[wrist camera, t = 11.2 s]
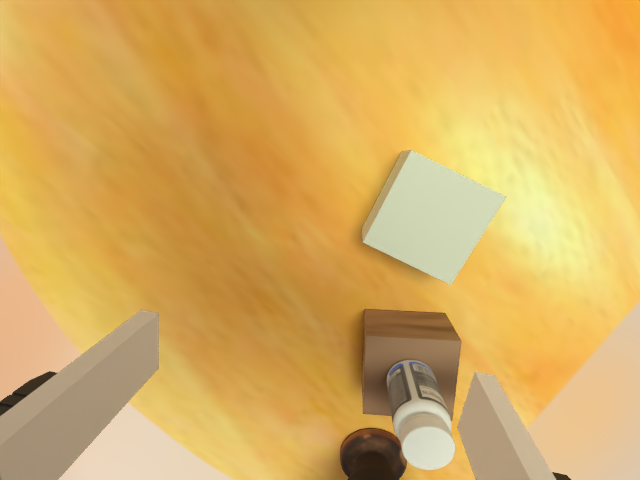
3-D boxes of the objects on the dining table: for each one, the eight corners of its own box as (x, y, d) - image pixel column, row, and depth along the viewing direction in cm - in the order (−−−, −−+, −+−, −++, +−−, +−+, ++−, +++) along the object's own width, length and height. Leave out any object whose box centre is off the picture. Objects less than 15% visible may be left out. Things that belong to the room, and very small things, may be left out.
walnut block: (364, 309, 39) (366, 335, 33) (445, 313, 38) (461, 341, 32) (361, 377, 41) (363, 413, 35) (438, 382, 40) (452, 420, 34)
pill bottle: (394, 404, 34) (406, 480, 26) (380, 364, 34) (388, 431, 25) (440, 393, 34) (468, 468, 25) (427, 352, 33) (451, 417, 25)
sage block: (401, 151, 34) (411, 150, 28) (480, 190, 34) (506, 196, 29) (361, 228, 37) (362, 242, 31) (435, 264, 37) (450, 285, 31)
